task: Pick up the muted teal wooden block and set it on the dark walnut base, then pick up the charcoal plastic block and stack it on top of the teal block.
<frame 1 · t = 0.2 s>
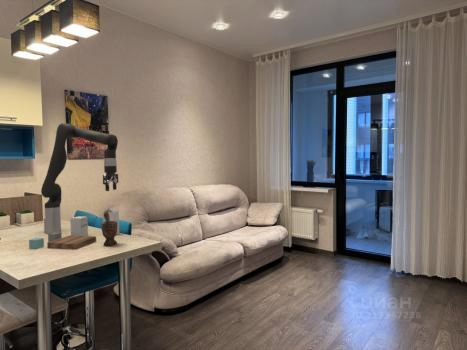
hand: (111, 190, 214), 29 cm above the table, tool pointing down, fingers open, 8 cm apart
teal block: (36, 247, 185), on the table
supplement box: (79, 237, 210), on the table
mortar and pestle: (110, 245, 188), on the table
milk carton: (111, 234, 215), on the table
walnut base: (72, 244, 191), on the table
charcoal block: (55, 241, 199), on the table
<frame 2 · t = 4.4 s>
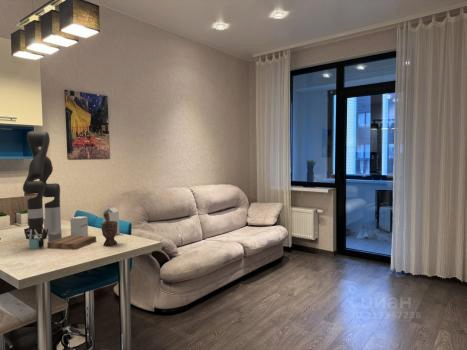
hand: (36, 246, 185), 0 cm above the table, tool pointing down, fingers closed on teal block, 5 cm apart
teal block: (36, 247, 185), on the table, touching gripper
everything else where it was.
when the fingers open (4 cm above the table, at t = 9.9 s): teal block stays where it is, resting on walnut base.
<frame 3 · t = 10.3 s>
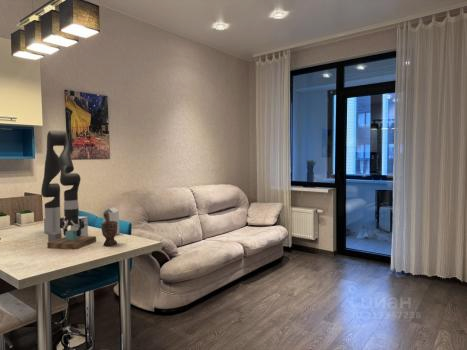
hand: (72, 235, 190), 5 cm above the table, tool pointing down, fingers open, 8 cm apart
teal block: (72, 239, 191), point 3 cm above the table, touching walnut base
everything else where it was.
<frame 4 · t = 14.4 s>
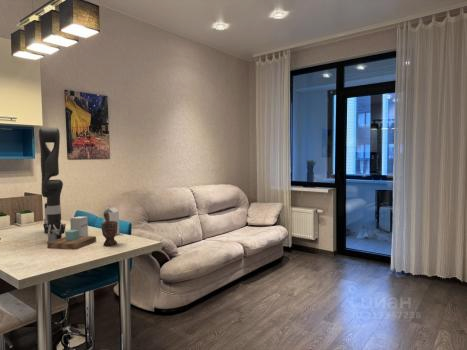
hand: (55, 240, 199), 0 cm above the table, tool pointing down, fingers closed on charcoal block, 5 cm apart
charcoal block: (55, 241, 199), on the table, touching gripper
everything else where it was.
when the fingers open (9 cm above the table, at t = 20.2 s): charcoal block stays where it is, resting on teal block.
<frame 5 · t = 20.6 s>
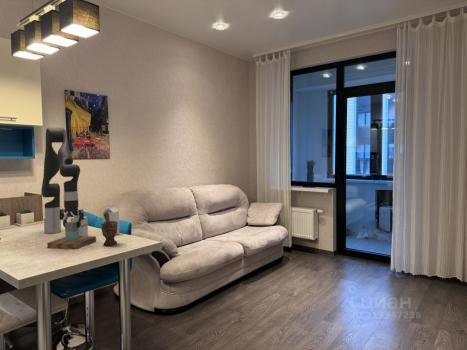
hand: (72, 227, 190), 10 cm above the table, tool pointing down, fingers open, 8 cm apart
teal block: (72, 239, 191), point 3 cm above the table, touching charcoal block, walnut base
charcoal block: (72, 230, 190), point 8 cm above the table, touching teal block
everything else where it was.
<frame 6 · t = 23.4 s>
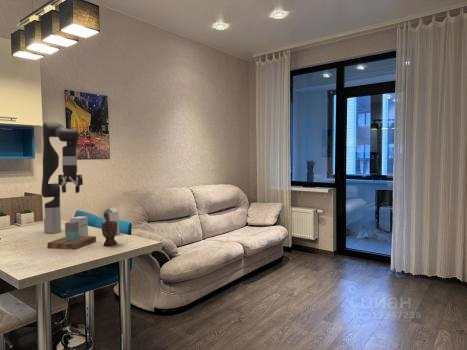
hand: (70, 192, 189), 30 cm above the table, tool pointing down, fingers open, 8 cm apart
nothing on the table moved.
at the end: teal block inside the target area on the walnut base (0.0 cm from its centre), point 3.0 cm above the walnut base's base; charcoal block 0.0 cm off-centre on the walnut base, point 8.0 cm above the walnut base's base; charcoal block tilted 0° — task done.
